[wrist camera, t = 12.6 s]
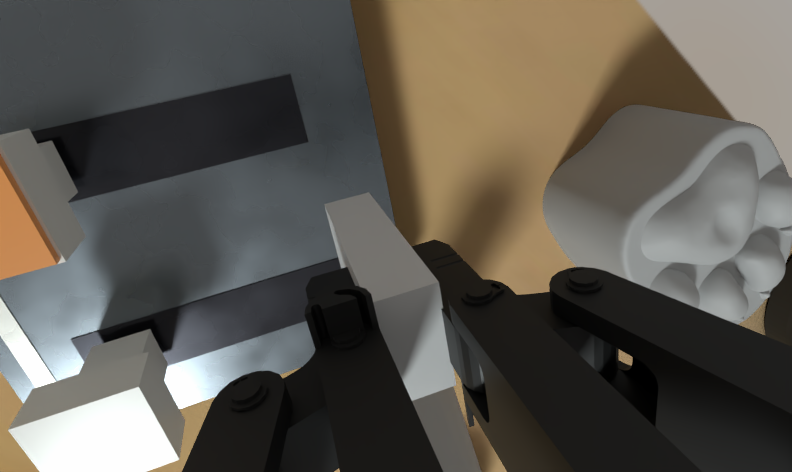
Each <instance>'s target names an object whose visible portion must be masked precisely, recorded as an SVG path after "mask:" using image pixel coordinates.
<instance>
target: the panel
mask: <svg viewBox="0 0 792 472" xmlns="http://www.w3.org/2000/svg"><path fill="white" fill-rule="evenodd" d="M24 129H30V131H31V133H32V135H33V137H34V139H35V140H36V142H37V144H39V143H43V142H48V141H52V142H53V144H54V146H55V148H56V149H57V151H58V153H59V155H60V157H61V159H62V161H63V163H64V165H65V167H66V169H67V171H68V173H69V175H70V177H71V179H72V181H73V183H74V185H75V187H76V189H77V191H78V193H77V194H76V195H75V196H73V197H72V198H71V199H70V200H69V201H68V203H69V205H70V207H71V209H72V211H73V213H74V215H75V216H76V218H77V220H78V222H79V224H80V226H81V228H82V230H83V232H84V234H85V235H86V237H85V238H84V239H83V241H82V242H81V243H80V244H79V246H78V247H77V248H76V250H75V251H74V252H73V253H72V255H71V256H70V257H69V258H68V260H67V261H66V262H64V263H60V264H56V265H53V266H49V267H45V268H42V269H38V270H34V271H31V272H27V273H23V274H20V275H16V276H13V277H9V278H5V279H2V280H0V371H1V373H2V374H3V375H4V377H5V378H6V380H7V381H8V382H9V384H10V385H11V387H12V388H13V389H14V391H15V392H16V394H17V395H18V396H19V398H20V399H21V401H22V402H23V403H24V402H25V401H26V399H27V397H28V396H29V394H30V392H31V391H32V389H33V388H37V387H40V386H43V385H46V384H49V383H52V382H55V381H59V380H62V379H65V378H68V377H71V376H74V375H77V374H79V372H80V370H81V368H82V366H83V364H84V362H85V360H86V358H87V356H88V354H89V352H90V350H91V348H92V347H93V346H97V345H100V344H103V343H106V342H109V341H113V340H116V339H119V338H122V337H126V336H129V335H132V334H135V333H138V332H142V331H145V330H148V329H150V330H151V332H152V334H153V336H154V338H155V339H156V341H157V343H158V345H159V347H160V349H161V351H162V353H163V355H164V357H165V359H166V361H167V363H168V366H167V370H166V375H165V379H164V381H165V383H166V385H167V387H168V389H169V391H170V393H171V395H172V397H173V398H174V400H175V402H176V404H177V406H178V408H179V409H181V408H184V407H187V406H190V405H193V404H196V403H198V402H201V401H204V400H207V399H210V398H213V397H216V396H217V394H218V393H219V392H220V391H221V390H222V389H223V388H224V387H225V386H226V385H228V384H229V383H230V382H232V381H233V380H235V379H237V378H239V377H241V376H243V375H245V374H249V373H252V372H255V371H272V372H275V373H278V374H279V375H280V374H282V373H285V372H288V371H291V370H294V369H297V368H300V367H303V366H304V365H305V364H306V363H307V362H308V361H309V360H310V358H311V357H312V356H313V354H314V352H315V346H314V343H313V340H312V337H311V334H310V331H309V327H308V324H307V321H306V318H305V315H304V314H305V308H306V306H307V305H308V304H309V303H308V299H307V294H306V287H307V285H308V283H309V281H310V279H311V277H314V276H318V275H321V274H324V273H328V272H331V271H335V270H338V269H341V266H340V262H339V258H338V255H337V251H336V247H335V243H334V239H333V236H332V232H331V228H330V224H329V221H328V217H327V213H326V209H325V205H324V204H327V203H331V202H334V201H338V200H342V199H346V198H349V197H353V196H357V195H361V194H364V193H368V192H369V193H370V194H371V196H372V197H373V198H374V200H375V201H376V202H377V203H378V205H379V206H380V207H381V209H382V210H383V211H384V212H385V214H386V215H387V216H388V218H389V219H390V220H391V221H392V223H393V224H394V225H395V221H394V216H393V211H392V206H391V201H390V196H389V191H388V186H387V181H386V176H385V171H384V166H383V161H382V157H381V152H380V147H379V142H378V137H377V132H376V127H375V122H374V117H373V112H372V107H371V102H370V97H369V92H368V87H367V82H366V77H365V72H364V67H363V63H362V58H361V53H360V48H359V43H358V38H357V33H356V28H355V23H354V18H353V13H352V8H351V3H350V0H0V135H1V134H6V133H10V132H15V131H20V130H24ZM395 227H396V226H395Z"/></svg>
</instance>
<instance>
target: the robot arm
mask: <svg viewBox="0 0 792 472" xmlns="http://www.w3.org/2000/svg"><path fill="white" fill-rule="evenodd" d="M324 205H325V209H326V213H327V217H328V221H329V224H330V228H331V232H332V236H333V239H334V243H335V247H336V251H337V255H338V258H339V262H340V266H341V269H338V270H335V271H331V272H328V273H324V274H321V275H318V276H314V277H311V279H310V281H309V283H308V285H307V287H306V294H307V299H308V303H309V304H308V305H307V306H306V308H305V314H304V315H305V318H306V321H307V324H308V327H309V331H310V334H311V337H312V340H313V343H314V346H315V352H314V354H313V356H312V357H311V358H310V360H309V361H308V362H307V363H306V364H305V365H304V366H303V367H301V368H300V369H298V370H297V371H295V372H294V373H292V374H291V375H289V376H287V377H285V378H284V379H283V378H282V377H281V376H280V375H279V374H278V373H275V372H272V371H255V372H252V373H249V374H245V375H243V376H241V377H239V378H237V379H235V380H233V381H232V382H230V383H229V384H228V385H226V386H225V387H224V388H223V389H222V390H221V391H220V392H219V393H218V394H217V396H216V397H215V399H214V400H213V402H212V404H211V406H210V409H209V411H208V413H207V416H206V418H205V420H204V422H203V425H202V427H201V429H200V432H199V434H198V436H197V439H196V441H195V443H194V445H193V448H192V450H191V452H190V455H189V457H188V459H187V462H186V464H185V466H184V468H183V471H182V472H334V471H335V470H337V469H338V468H339V469H340V472H443V470H442V468H441V465H440V463H439V461H438V459H437V456H436V454H435V452H434V450H433V447H432V445H431V443H430V441H429V438H428V436H427V434H426V432H425V429H424V427H423V425H422V423H421V420H420V418H419V416H418V414H417V411H416V409H415V407H414V405H413V402H412V401H413V400H416V399H419V398H421V397H424V396H427V395H430V394H433V393H436V392H438V391H441V390H444V389H447V388H450V387H453V386H455V385H456V381H455V375H454V369H455V371H456V372H457V374H458V375H459V377H460V379H461V382H462V388H463V394H464V400H465V407H466V413H467V419H468V423H469V426H470V427H471V426H474V419H473V415H474V416H475V418H476V419H477V421H478V423H479V425H480V426H481V428H482V430H483V431H484V433H485V435H486V436H487V438H488V440H489V442H490V443H491V445H492V447H493V448H494V450H495V452H496V453H497V455H498V457H499V459H500V460H501V462H502V464H503V465H504V467H505V469H506V470H507V472H792V258H791V259H790V261H789V262H788V264H787V265H786V270H785V274H784V276H783V278H782V280H781V281H780V282H779V284H778V285H777V286H776V287H774V289H773V291H772V293H771V296H770V299H769V302H768V305H767V310H766V315H765V334H766V336H764V335H762V334H760V333H757V332H755V331H752V330H750V329H747V328H745V327H742V326H740V325H737V324H735V323H733V322H730V321H728V320H725V319H723V318H720V317H718V316H715V315H713V314H710V313H708V312H705V311H703V310H701V309H698V308H696V307H693V306H691V305H688V304H686V303H683V302H681V301H678V300H676V299H674V298H671V297H669V296H666V295H664V294H661V293H659V292H656V291H654V290H651V289H649V288H646V287H644V286H642V285H639V284H637V283H634V282H632V281H629V280H627V279H624V278H622V277H619V276H617V275H614V274H612V273H610V272H607V271H604V270H600V269H597V268H589V267H576V268H575V267H574V268H569V269H566V270H563V271H560V272H558V273H557V274H555V275H554V276H553V277H552V278H551V281H550V284H549V285H550V292H545V293H536V294H525V295H516V294H515V293H514V292H513V291H512V290H511V289H510V288H509V287H508V286H506V285H504V284H503V283H501V282H498V281H494V280H483V279H482V278H481V277H480V276H479V275H478V274H477V273H476V272H475V271H474V270H473V269H472V268H471V267H470V266H469V265H468V264H467V263H466V262H465V261H463V259H462V258H461V257H460V256H459V255H458V254H457V253H456V252H455V251H454V250H453V249H452V248H451V247H450V246H449V245H448V244H445V243H443V242H440V241H437V240H432V241H429V242H425V243H422V244H418V245H415V246H412V247H411V246H410V244H409V243H408V242H407V241H406V239H405V238H404V237H403V235H402V234H401V233H400V232H399V230H398V229H397V228H396V227H395V225H394V224H393V223H392V221H391V220H390V219H389V218H388V216H387V215H386V214H385V212H384V211H383V210H382V209H381V207H380V206H379V205H378V203H377V202H376V201H375V200H374V198H373V197H372V196H371V194H370V193H369V192H368V193H364V194H361V195H357V196H353V197H349V198H346V199H342V200H338V201H334V202H331V203H327V204H324ZM618 349H620V350H622V351H623V352H625V353H627V354H629V355H631V356H632V357H633V363H632V366H630V365H627V364H625V363H623V362H621V361H619V360H618ZM453 367H454V369H453Z"/></svg>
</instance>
